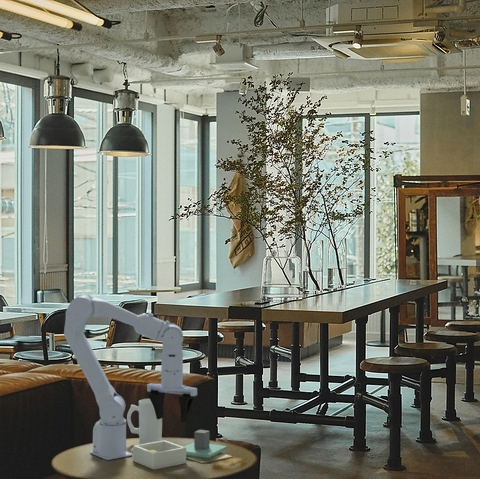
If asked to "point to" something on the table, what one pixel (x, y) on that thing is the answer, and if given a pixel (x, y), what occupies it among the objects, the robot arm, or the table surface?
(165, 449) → the storage box
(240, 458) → the table surface
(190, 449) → the lid
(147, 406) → the mug
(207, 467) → the table surface
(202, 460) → the cork mat
